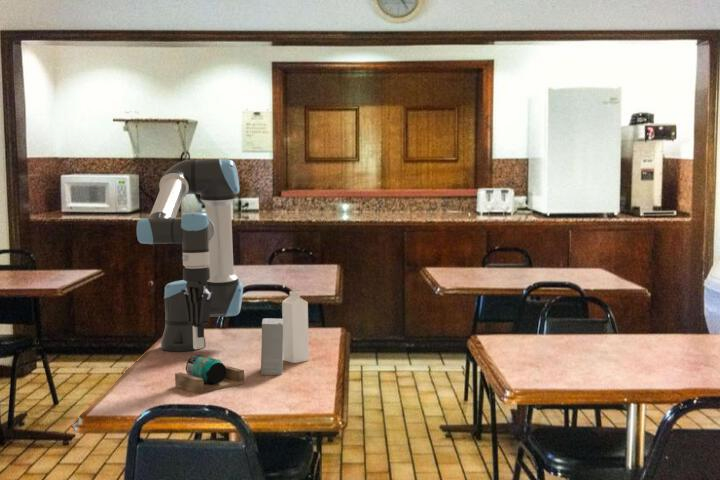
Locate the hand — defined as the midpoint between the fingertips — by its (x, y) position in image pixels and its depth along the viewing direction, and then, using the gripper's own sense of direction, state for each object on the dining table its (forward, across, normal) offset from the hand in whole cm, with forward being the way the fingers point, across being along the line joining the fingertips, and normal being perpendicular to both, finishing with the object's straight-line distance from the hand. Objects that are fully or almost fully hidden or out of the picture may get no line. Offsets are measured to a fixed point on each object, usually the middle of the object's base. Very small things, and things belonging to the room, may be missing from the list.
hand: (198, 348), depth 251 cm
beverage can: (+6, -2, 0) cm, 6 cm away
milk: (+10, -1, +37) cm, 38 cm away
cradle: (+10, +5, 0) cm, 11 cm away
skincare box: (+10, +6, +22) cm, 25 cm away
